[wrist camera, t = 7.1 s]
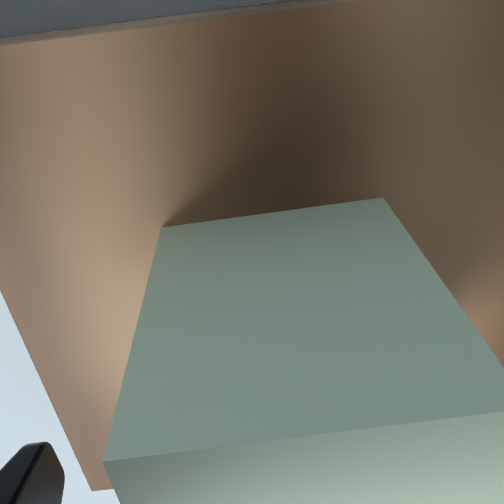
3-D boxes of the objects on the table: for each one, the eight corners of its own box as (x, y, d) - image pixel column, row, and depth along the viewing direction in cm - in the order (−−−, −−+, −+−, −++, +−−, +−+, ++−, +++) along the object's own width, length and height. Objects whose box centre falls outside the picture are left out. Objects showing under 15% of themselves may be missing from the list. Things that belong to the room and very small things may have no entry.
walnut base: (111, 416, 18) (91, 491, 15) (-30, 40, 11) (-106, 59, 9) (459, 375, 18) (499, 444, 15) (517, -30, 11) (606, -32, 9)
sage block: (200, 386, 13) (185, 650, 8) (161, 227, 11) (101, 462, 6) (381, 363, 13) (482, 616, 8) (383, 197, 11) (532, 407, 6)
